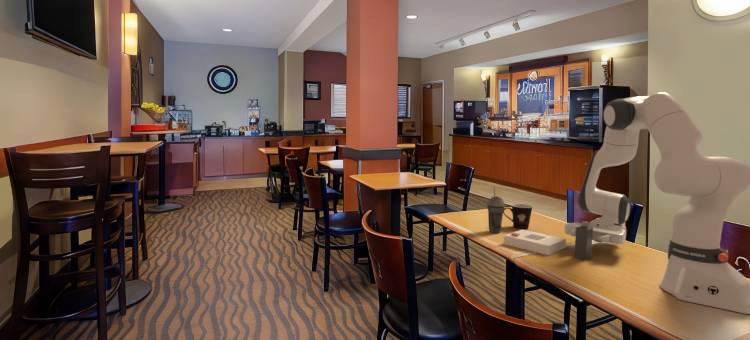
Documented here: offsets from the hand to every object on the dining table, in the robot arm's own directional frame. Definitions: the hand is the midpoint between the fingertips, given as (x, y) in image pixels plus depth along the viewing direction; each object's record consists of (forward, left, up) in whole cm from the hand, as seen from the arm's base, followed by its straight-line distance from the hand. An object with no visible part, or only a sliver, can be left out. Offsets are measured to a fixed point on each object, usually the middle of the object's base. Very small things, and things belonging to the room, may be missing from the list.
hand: (586, 236), depth 154 cm
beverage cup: (+39, -4, -8) cm, 40 cm away
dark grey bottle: (0, +2, -7) cm, 8 cm away
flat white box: (+18, +2, -7) cm, 20 cm away
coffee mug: (+37, -20, -8) cm, 43 cm away
